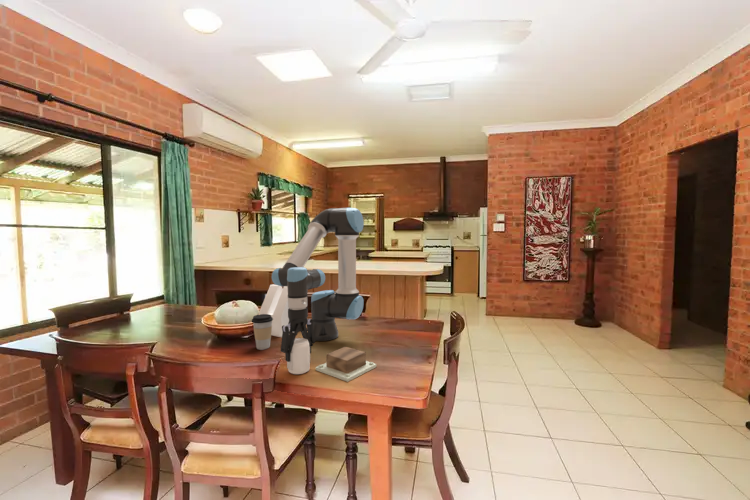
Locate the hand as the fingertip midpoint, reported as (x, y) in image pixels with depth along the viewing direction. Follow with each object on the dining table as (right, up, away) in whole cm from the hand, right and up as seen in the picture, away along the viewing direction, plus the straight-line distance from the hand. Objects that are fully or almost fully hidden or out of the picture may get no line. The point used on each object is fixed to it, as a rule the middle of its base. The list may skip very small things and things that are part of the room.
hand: (298, 365), depth 136 cm
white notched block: (-20, +1, +52) cm, 56 cm away
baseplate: (+18, -2, +2) cm, 19 cm away
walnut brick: (+18, -1, +2) cm, 18 cm away
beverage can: (0, -2, 0) cm, 2 cm away
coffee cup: (-23, -1, +27) cm, 35 cm away
